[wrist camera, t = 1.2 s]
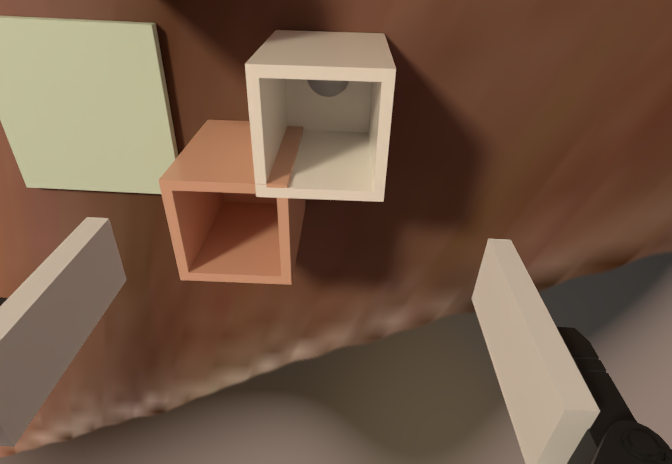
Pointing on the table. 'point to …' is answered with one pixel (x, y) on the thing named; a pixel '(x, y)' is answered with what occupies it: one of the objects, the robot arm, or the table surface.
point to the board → (85, 103)
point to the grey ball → (327, 87)
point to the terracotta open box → (232, 208)
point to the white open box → (323, 113)
